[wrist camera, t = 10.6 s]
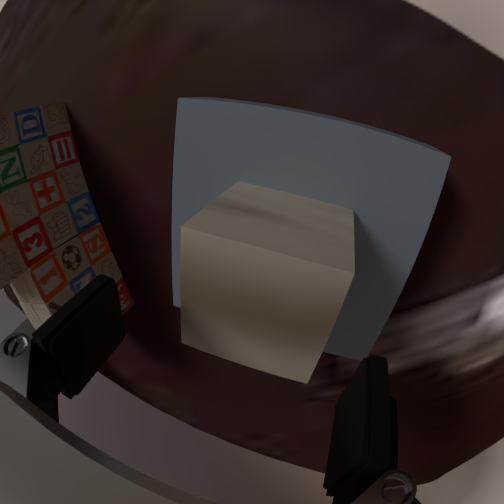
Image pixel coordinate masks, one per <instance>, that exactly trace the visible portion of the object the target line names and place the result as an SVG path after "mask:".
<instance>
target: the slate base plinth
mask: <svg viewBox="0 0 504 504" xmlns="http://www.w3.org/2000/svg"><path fill="white" fill-rule="evenodd" d="M450 159H451V156H449V155H447V154H445V153H443V152H442V151H440V150H438V149H436V148H434V147H432V146H430V145H428V144H425V143H422V142H419V141H416V140H414V139H411V138H408V137H405V136H402V135H398V134H395V133H392V132H389V131H386V130H382V129H379V128H376V127H372V126H368V125H365V124H361V123H357V122H354V121H350V120H346V119H342V118H338V117H333V116H329V115H324V114H320V113H315V112H310V111H305V110H300V109H295V108H289V107H284V106H278V105H271V104H265V103H258V102H250V101H242V100H234V99H224V98H213V97H192V98H178V105H177V117H176V130H175V146H174V164H173V191H172V280H173V305H174V306H177V307H180V308H181V305H180V247H181V226H182V225H183V224H184V223H186V222H187V221H188V220H189V219H191V218H192V217H193V216H194V215H196V214H197V213H198V212H199V211H201V210H202V209H203V208H204V207H206V206H207V205H208V204H209V203H211V202H212V201H213V200H215V199H216V198H217V197H218V196H220V195H221V194H222V193H224V192H225V191H226V190H228V189H229V188H230V187H231V186H233V185H234V184H235V183H237V182H238V181H239V182H244V183H248V184H253V185H257V186H261V187H266V188H270V189H274V190H279V191H283V192H287V193H291V194H295V195H299V196H303V197H307V198H311V199H315V200H318V201H322V202H326V203H330V204H333V205H337V206H341V207H344V208H348V209H351V210H353V214H354V247H355V274H354V277H353V279H352V282H351V285H350V287H349V290H348V292H347V295H346V297H345V300H344V302H343V305H342V307H341V310H340V312H339V315H338V317H337V319H336V322H335V324H334V326H333V329H332V331H331V333H330V336H329V338H328V340H327V342H326V345H325V347H324V349H323V352H327V353H330V354H334V355H339V356H343V357H347V358H351V359H355V360H360V361H362V360H363V358H367V356H368V354H369V352H370V351H371V349H372V347H373V345H374V344H375V342H376V340H377V338H378V336H379V335H380V333H381V331H382V329H383V327H384V325H385V323H386V322H387V320H388V318H389V316H390V314H391V312H392V310H393V308H394V306H395V304H396V302H397V300H398V298H399V296H400V294H401V291H402V289H403V287H404V285H405V283H406V281H407V278H408V276H409V274H410V272H411V269H412V267H413V265H414V262H415V260H416V258H417V255H418V253H419V251H420V248H421V246H422V243H423V241H424V238H425V235H426V233H427V230H428V227H429V225H430V222H431V219H432V216H433V214H434V211H435V208H436V205H437V202H438V199H439V196H440V193H441V190H442V187H443V183H444V180H445V177H446V173H447V170H448V166H449V163H450Z"/></svg>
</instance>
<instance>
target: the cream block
mask: <svg viewBox="0 0 504 504" xmlns="http://www.w3.org/2000/svg"><path fill="white" fill-rule="evenodd" d="M354 274H355V247H354V214H353V210H351V209H348V208H344V207H341V206H337V205H333V204H330V203H326V202H322V201H318V200H315V199H311V198H307V197H303V196H299V195H295V194H291V193H287V192H283V191H279V190H274V189H270V188H266V187H261V186H257V185H253V184H248V183H244V182H239V181H238V182H237V183H235V184H234V185H233V186H231V187H230V188H229V189H228V190H226V191H225V192H224V193H222V194H221V195H220V196H218V197H217V198H216V199H215V200H213V201H212V202H211V203H209V204H208V205H207V206H206V207H204V208H203V209H202V210H201V211H199V212H198V213H197V214H196V215H194V216H193V217H192V218H191V219H189V220H188V221H187V222H186V223H184V224H183V225H182V226H181V247H180V305H181V341H182V343H183V344H186V345H189V346H191V347H194V348H196V349H199V350H202V351H205V352H207V353H210V354H213V355H216V356H218V357H221V358H224V359H227V360H230V361H233V362H236V363H239V364H242V365H245V366H248V367H251V368H254V369H257V370H261V371H264V372H267V373H271V374H274V375H277V376H281V377H284V378H288V379H291V380H295V381H299V382H302V383H306V384H307V383H308V381H309V379H310V377H311V375H312V373H313V371H314V368H315V366H316V364H317V362H318V360H319V358H320V356H321V354H322V351H323V349H324V347H325V345H326V342H327V340H328V338H329V336H330V333H331V331H332V329H333V326H334V324H335V322H336V319H337V317H338V315H339V312H340V310H341V307H342V305H343V302H344V300H345V297H346V295H347V292H348V290H349V287H350V285H351V282H352V279H353V277H354Z"/></svg>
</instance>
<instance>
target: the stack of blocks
mask: <svg viewBox="0 0 504 504" xmlns="http://www.w3.org/2000/svg"><path fill="white" fill-rule="evenodd" d="M99 274H103V275H106V276H108V277H111V278H113V279H114V280H115V283H116V284H117V286H118V293H119V299H120V305H121V311H122V316H123V315H124V314H125V313H126V312H127V311H128V310H129V309H130V308H131V307H132V306H133V304H134V301H133V299H132V297H131V295H130V293H129V291H128V289H127V287H126V284H125V282H124V280H123V279H122V274H121V272H120V269H119V267H118V265H117V262H116V260H115V258H114V255H113V253H112V252H111V248H110V245H109V243H108V240H107V238H106V235H105V233H104V230H103V228H102V225H101V223H100V222H99V218H98V215H97V213H96V210H95V207H94V204H93V201H92V199H91V196H90V193H89V191H88V187H87V184H86V181H85V178H84V175H83V172H82V169H81V165H80V162H79V157H78V153H77V150H76V146H75V143H74V139H73V135H72V131H71V127H70V123H69V118H68V114H67V110H66V105H65V102H60V103H55V104H49V105H43V106H40V107H35V108H29V109H25V110H20V111H15V112H8V113H4V114H0V289H2V288H3V287H5V286H6V285H7V284H9V283H10V285H11V287H12V289H13V291H14V293H15V295H16V297H17V298H18V300H19V303H20V305H21V306H22V308H23V310H24V312H25V314H26V315H27V317H28V319H29V320H30V322H31V324H32V325H33V327H34V328H35V330H37V329H38V328H39V327H40V326H41V325H42V324H43V323H44V322H45V321H46V320H47V319H48V318H50V317H51V316H52V315H53V314H54V313H55V312H56V311H57V310H58V309H59V308H61V307H62V306H63V305H64V304H65V303H66V302H67V301H68V300H70V299H71V298H72V297H73V296H74V295H75V294H76V293H78V292H79V291H80V290H81V289H82V288H83V287H85V286H86V285H87V284H88V283H89V282H91V281H92V280H93V279H94V278H95V277H96V276H98V275H99Z"/></svg>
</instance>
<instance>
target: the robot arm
mask: <svg viewBox="0 0 504 504" xmlns="http://www.w3.org/2000/svg"><path fill="white" fill-rule="evenodd" d="M124 337H125V327H124V321H123V316H122V311H121V305H120V299H119V293H118V286H117V284H116V283H115V280H114V279H113V278H111V277H108V276H106V275H103V274H99V275H98V276H96V277H95V278H94V279H93V280H92V281H91V282H89V283H88V284H87V285H86V286H85V287H83V288H82V289H81V290H80V291H79V292H78V293H76V294H75V295H74V296H73V297H72V298H71V299H70V300H68V301H67V302H66V303H65V304H64V305H63V306H62V307H61V308H59V309H58V310H57V311H56V312H55V313H54V314H53V315H52V316H51V317H50V318H48V319H47V320H46V321H45V322H44V323H43V324H42V325H41V326H40V327H39V328H38V329H37V330H35V328H34V327H33V325H32V324H31V322H30V320H29V319H28V318H27V319H26V320H25V321H24V322H23V323H21V324H20V325H19V326H18V327H17V328H16V329H15V330H14V331H13V332H12V333H11V334H10V335H8V336H7V337H6V338H5V339H4V340H3V341H2V342H1V343H0V504H218V503H215V502H212V501H209V500H206V499H203V498H201V497H198V496H195V495H192V494H190V493H187V492H184V491H182V490H179V489H177V488H174V487H172V486H170V485H167V484H165V483H163V482H160V481H158V480H156V479H154V478H152V477H149V476H147V475H145V474H143V473H141V472H139V471H137V470H135V469H133V468H131V467H129V466H127V465H125V464H124V463H122V462H120V461H118V460H116V459H114V458H113V457H111V456H109V455H107V454H106V453H104V452H102V451H100V450H99V449H97V448H96V447H94V446H92V445H91V444H89V443H87V442H86V441H84V440H83V439H81V438H80V437H78V436H77V435H75V434H74V433H72V432H71V431H69V430H68V429H66V428H65V427H64V426H62V425H61V424H59V417H58V394H59V393H60V392H61V393H62V394H63V395H65V396H66V397H68V398H70V399H72V398H73V397H74V395H78V394H79V393H80V392H81V391H82V390H83V388H84V387H85V386H86V384H87V383H88V382H89V381H90V380H91V378H92V377H93V376H94V374H95V373H96V372H97V371H98V370H99V368H100V367H101V366H102V365H103V364H104V362H105V361H106V360H107V359H108V358H109V356H110V355H111V354H112V353H113V351H114V350H115V349H116V348H117V347H118V345H119V344H120V343H121V342H122V341H123V339H124ZM397 464H398V422H397V402H396V398H395V397H393V396H389V380H388V364H387V359H386V358H385V357H380V356H375V355H370V356H369V357H368V358H363V360H362V361H361V363H360V365H359V367H358V368H357V370H356V372H355V373H354V375H353V377H352V378H351V380H350V382H349V383H348V385H347V386H346V388H345V390H344V391H343V393H342V394H341V396H340V398H339V399H338V401H337V404H336V407H335V414H334V422H333V429H332V436H331V443H330V449H329V456H328V462H327V467H326V473H325V478H324V484H323V487H324V489H327V493H326V495H327V496H334V498H333V503H332V504H421V503H420V502H419V501H418V500H417V499H416V498H415V495H416V491H417V485H416V482H415V479H414V478H413V477H412V475H411V474H410V473H408V472H406V471H404V470H401V469H397Z"/></svg>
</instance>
